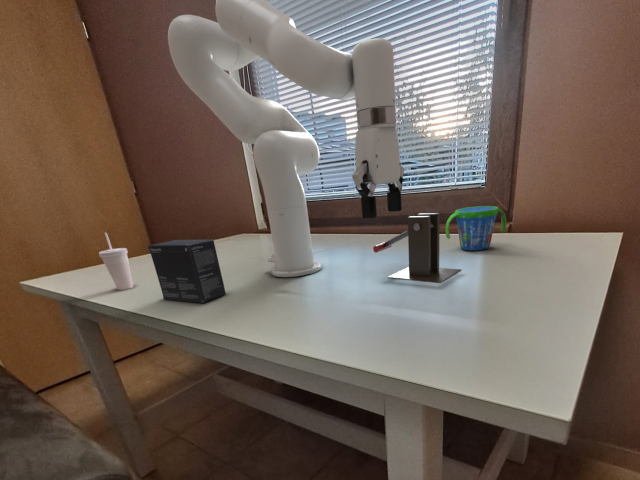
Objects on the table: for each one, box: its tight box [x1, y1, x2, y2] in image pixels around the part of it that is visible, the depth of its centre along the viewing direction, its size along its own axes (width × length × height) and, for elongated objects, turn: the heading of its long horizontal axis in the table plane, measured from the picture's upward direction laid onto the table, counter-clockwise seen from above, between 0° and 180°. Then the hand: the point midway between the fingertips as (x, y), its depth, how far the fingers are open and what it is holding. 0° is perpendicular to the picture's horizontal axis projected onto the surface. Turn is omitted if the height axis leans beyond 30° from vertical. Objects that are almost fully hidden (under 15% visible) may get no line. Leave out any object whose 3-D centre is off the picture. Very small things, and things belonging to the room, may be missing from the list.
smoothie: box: [98, 232, 134, 291], centre depth 95 cm, size 6×6×14 cm
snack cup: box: [444, 205, 507, 252], centre depth 99 cm, size 16×10×10 cm
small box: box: [147, 239, 227, 304], centre depth 81 cm, size 13×7×12 cm, turn 61°
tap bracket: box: [387, 212, 462, 284], centre depth 77 cm, size 12×10×13 cm
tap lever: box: [372, 215, 434, 253], centre depth 79 cm, size 13×6×2 cm, turn 53°
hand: (382, 214), depth 80 cm, fingers open, 9 cm apart
